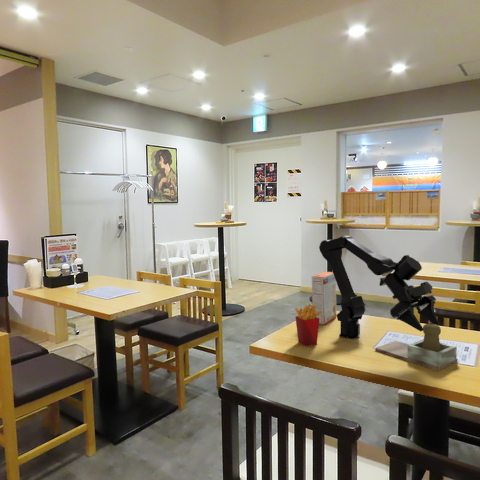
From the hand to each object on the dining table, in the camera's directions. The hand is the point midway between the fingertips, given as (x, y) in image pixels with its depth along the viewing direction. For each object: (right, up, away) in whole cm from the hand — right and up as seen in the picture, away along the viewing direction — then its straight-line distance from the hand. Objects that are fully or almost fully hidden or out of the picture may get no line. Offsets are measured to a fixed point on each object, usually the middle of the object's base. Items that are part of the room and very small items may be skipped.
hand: (430, 327), depth 127 cm
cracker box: (-24, -8, +49) cm, 55 cm away
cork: (+1, -10, 0) cm, 10 cm away
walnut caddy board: (-3, -10, +5) cm, 12 cm away
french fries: (-35, -10, +19) cm, 41 cm away
